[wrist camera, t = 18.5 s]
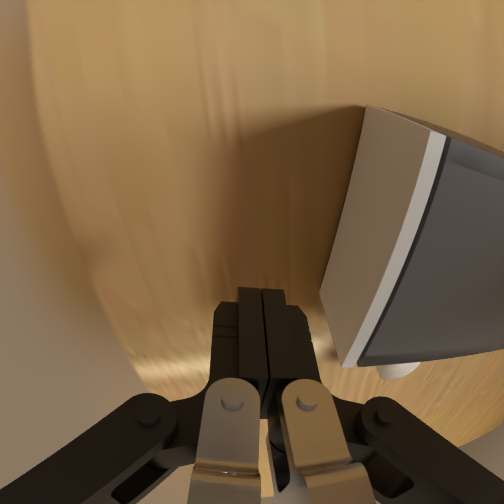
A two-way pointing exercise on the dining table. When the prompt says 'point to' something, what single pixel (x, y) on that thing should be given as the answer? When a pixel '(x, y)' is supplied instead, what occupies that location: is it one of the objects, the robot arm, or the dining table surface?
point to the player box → (449, 264)
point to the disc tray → (377, 225)
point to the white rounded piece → (396, 370)
